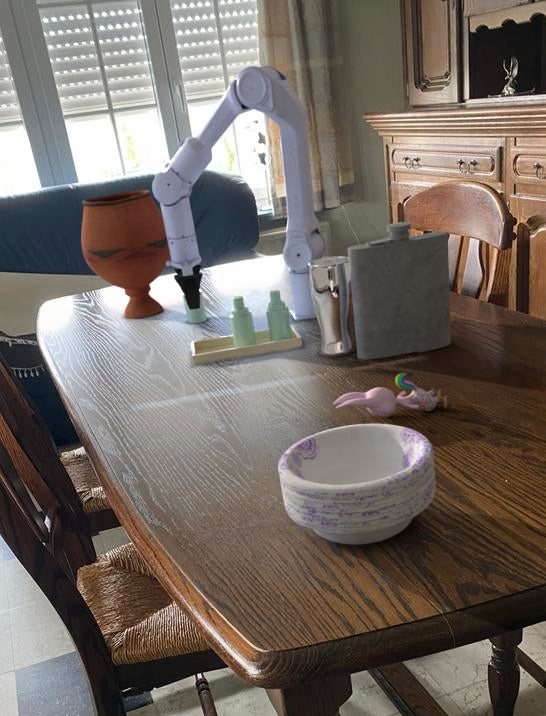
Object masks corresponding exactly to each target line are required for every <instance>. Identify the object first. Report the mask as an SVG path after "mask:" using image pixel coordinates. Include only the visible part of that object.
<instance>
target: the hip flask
mask: <svg viewBox="0 0 546 716" xmlns="http://www.w3.org/2000/svg"><path fill="white" fill-rule="evenodd" d="M411 225H412V223H411V222H410V221H409V222H408V221H402V222H401V221H400V222H393V223H390V224H387V225H386V232H388V233H389V234H387V237H384V238H381V239H377V240H372V241H366V242H365V243H364V244H356V245H351V246H349V247H347V254H348V256H347V257H349V268H350V279H351V290H352V301H353V322H354V334H355V345H356V355H357V359H359V360H364V361H365V360H374V359H381V358H389V357H395V356H401V355H405V354H410V353H416V352H417V353H418V354H421V353H425V352H430V351H433V350H438V349H440V348H441V349H442V348H445V347H448V346H451V343H452V340H451V339H452V338H451V304H450V303H451V300H450V299H451V298H450V267H449V265H450V263H449V262H450V261H449V260H450V259H449V233H448V231H444V230H443V231H442V230H440V231H439V230H437V231H431V232H427V233H422V234H418V235H413V236H411V235H410V230H411V228H412V226H411Z"/></svg>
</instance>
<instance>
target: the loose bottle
mask: <svg viewBox="0 0 546 716" xmlns="http://www.w3.org/2000/svg"><path fill="white" fill-rule="evenodd" d="M182 298H183V303H184V308H185V313H186V318H187V323H188V324H200V323H204V322H206V321H208V317H207V316H208V315H207V312H206V306H205V305H206V304H205V301H204V296H203V290H202V289H200V308H199V309H193V310H190V309H189V307H188V305H187V302H186V299H185V297H184V294H183V293H182Z"/></svg>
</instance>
